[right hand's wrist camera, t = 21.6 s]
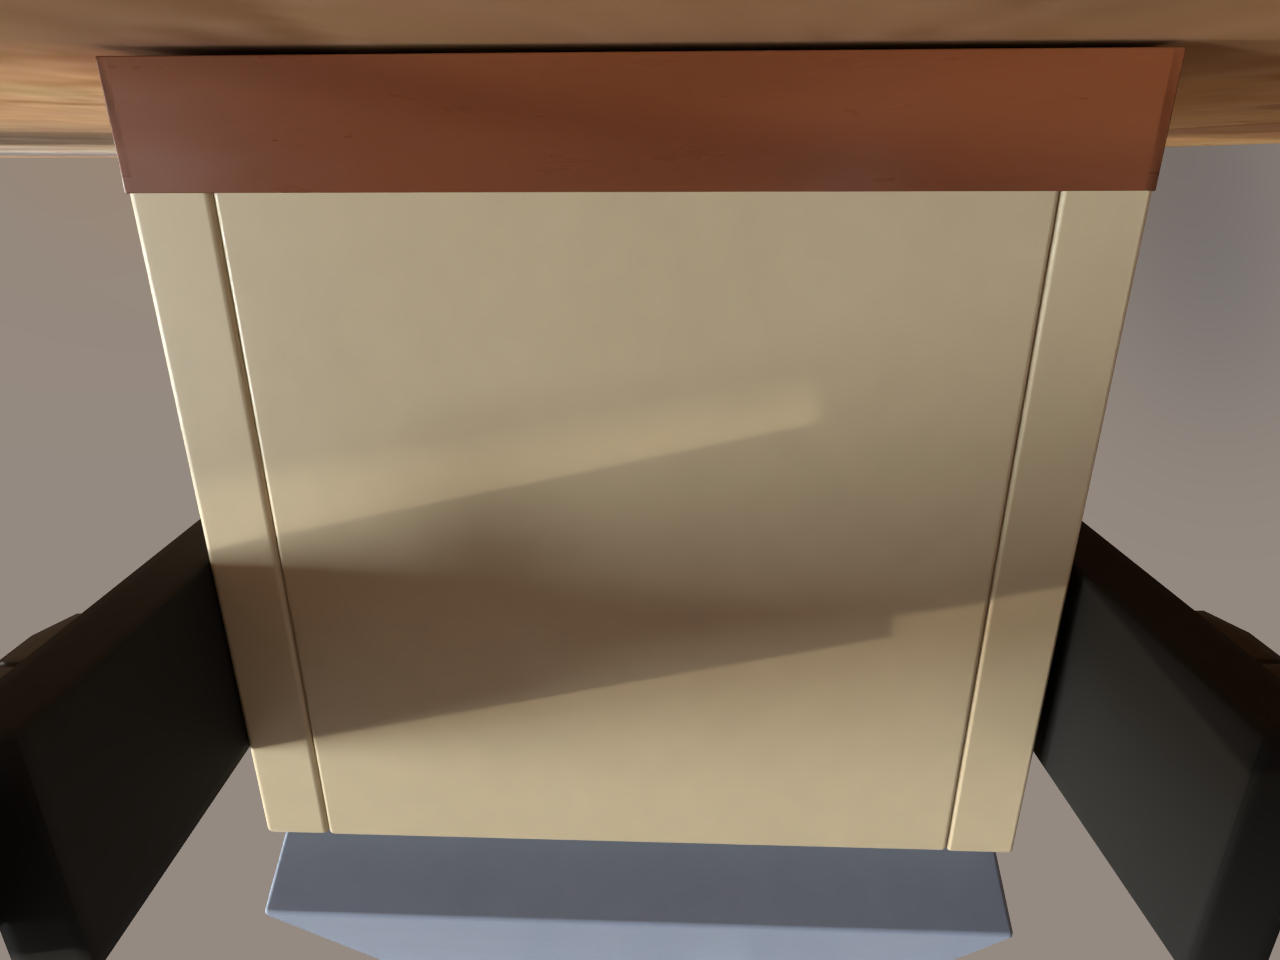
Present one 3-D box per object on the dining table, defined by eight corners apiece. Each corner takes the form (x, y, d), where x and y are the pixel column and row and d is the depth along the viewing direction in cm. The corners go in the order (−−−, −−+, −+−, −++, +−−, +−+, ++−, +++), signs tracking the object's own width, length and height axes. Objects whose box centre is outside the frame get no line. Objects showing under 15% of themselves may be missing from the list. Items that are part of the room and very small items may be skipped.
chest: (839, 128, 22) (813, 451, 26) (479, 130, 23) (501, 448, 26) (1187, 46, 7) (1014, 854, 11) (94, 57, 8) (266, 834, 11)
